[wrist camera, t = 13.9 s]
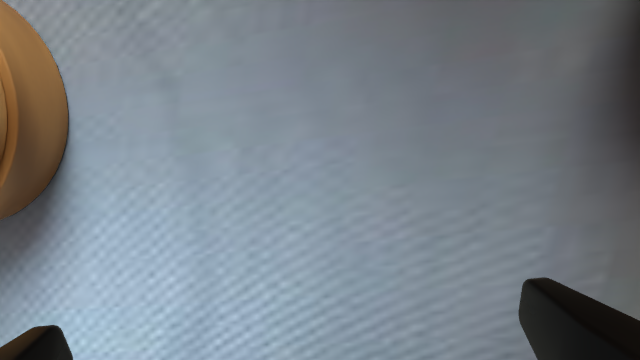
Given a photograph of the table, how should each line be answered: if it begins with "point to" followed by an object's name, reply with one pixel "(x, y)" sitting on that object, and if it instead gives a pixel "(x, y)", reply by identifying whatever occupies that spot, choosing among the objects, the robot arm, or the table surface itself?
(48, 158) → the display stand
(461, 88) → the table surface
